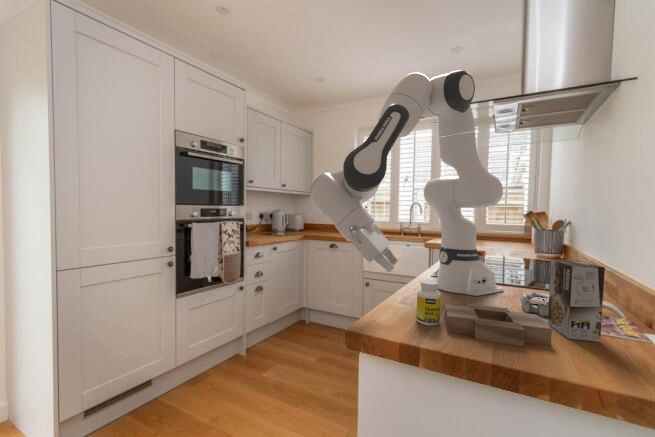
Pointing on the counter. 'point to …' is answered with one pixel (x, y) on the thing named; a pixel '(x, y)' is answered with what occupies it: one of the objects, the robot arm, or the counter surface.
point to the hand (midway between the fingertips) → (394, 266)
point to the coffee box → (576, 299)
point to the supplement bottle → (428, 303)
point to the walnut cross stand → (497, 325)
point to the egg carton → (539, 309)
